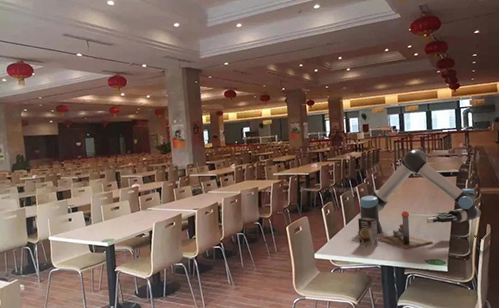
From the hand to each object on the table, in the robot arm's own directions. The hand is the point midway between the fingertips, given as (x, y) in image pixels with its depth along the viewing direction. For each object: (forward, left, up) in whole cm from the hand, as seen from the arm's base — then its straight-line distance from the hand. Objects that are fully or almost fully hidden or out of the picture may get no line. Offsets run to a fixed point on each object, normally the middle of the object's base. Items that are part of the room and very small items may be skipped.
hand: (427, 221), depth 247 cm
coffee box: (+22, -28, -13) cm, 38 cm away
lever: (+8, -13, -11) cm, 19 cm away
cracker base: (+6, -12, -12) cm, 18 cm away
